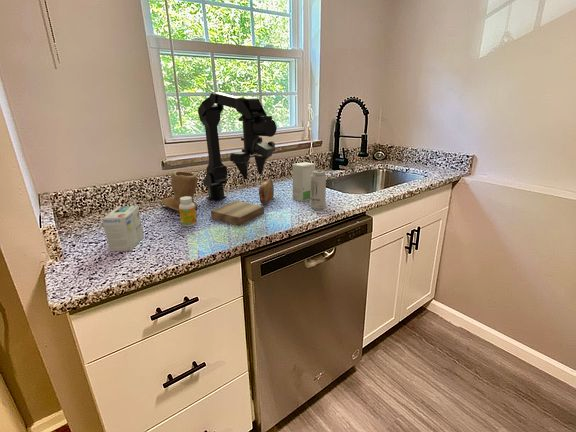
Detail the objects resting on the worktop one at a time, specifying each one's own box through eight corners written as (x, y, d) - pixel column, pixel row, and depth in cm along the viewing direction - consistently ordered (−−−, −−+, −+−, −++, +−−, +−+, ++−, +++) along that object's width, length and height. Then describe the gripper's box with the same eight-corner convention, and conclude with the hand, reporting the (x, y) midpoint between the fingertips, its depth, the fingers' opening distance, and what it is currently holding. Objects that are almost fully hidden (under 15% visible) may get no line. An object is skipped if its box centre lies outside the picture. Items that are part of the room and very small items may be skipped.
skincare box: (301, 202, 132) (302, 166, 127) (291, 199, 137) (291, 163, 131) (315, 198, 138) (316, 163, 132) (305, 195, 142) (305, 161, 137)
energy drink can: (307, 208, 125) (307, 171, 120) (316, 204, 129) (317, 169, 124) (318, 211, 122) (319, 174, 116) (328, 207, 126) (329, 171, 120)
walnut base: (211, 218, 116) (210, 210, 115) (236, 207, 127) (235, 200, 126) (240, 225, 109) (239, 217, 108) (264, 213, 120) (263, 206, 119)
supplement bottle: (182, 227, 108) (179, 201, 105) (180, 222, 113) (176, 197, 109) (198, 224, 110) (195, 198, 107) (195, 220, 115) (192, 194, 111)
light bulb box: (123, 237, 102) (116, 205, 98) (144, 236, 102) (138, 205, 98) (108, 252, 92) (100, 218, 88) (132, 251, 92) (125, 217, 88)
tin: (265, 207, 127) (264, 187, 124) (258, 206, 128) (257, 187, 125) (274, 196, 141) (274, 178, 138) (267, 196, 142) (267, 177, 139)
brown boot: (206, 208, 127) (201, 172, 122) (178, 215, 119) (173, 177, 114) (187, 200, 137) (182, 166, 132) (161, 207, 129) (155, 171, 124)
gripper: (253, 139, 101) (255, 185, 107) (283, 133, 116) (284, 174, 121) (227, 136, 106) (230, 181, 112) (259, 131, 121) (260, 170, 127)
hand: (253, 176), depth 118 cm, fingers open, 9 cm apart
